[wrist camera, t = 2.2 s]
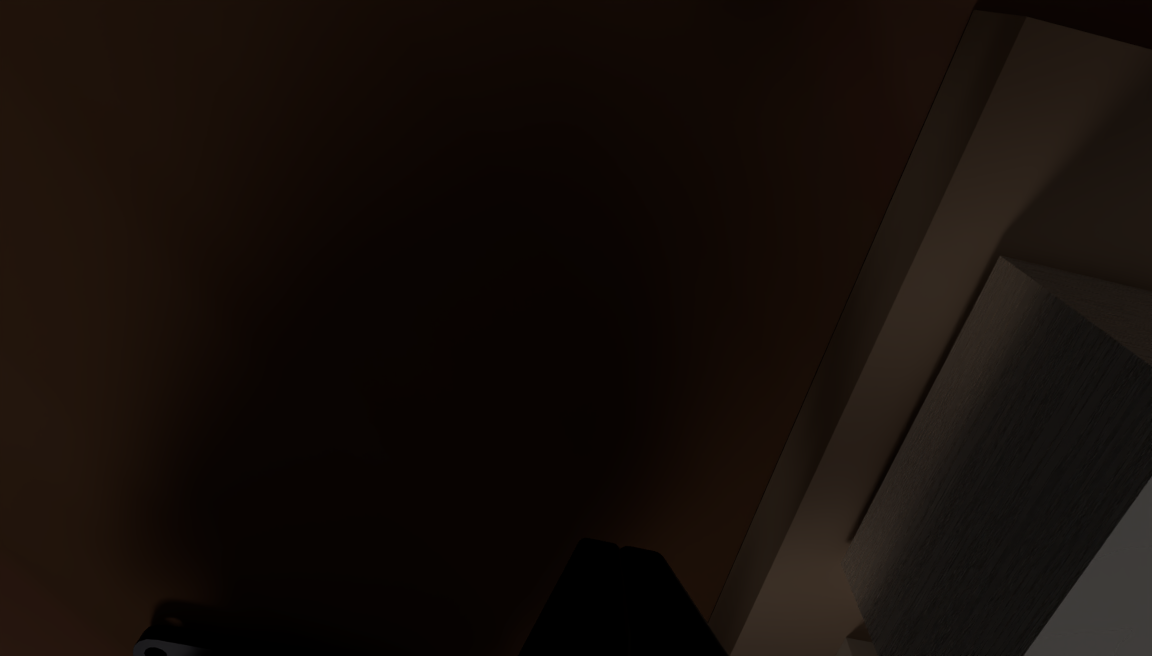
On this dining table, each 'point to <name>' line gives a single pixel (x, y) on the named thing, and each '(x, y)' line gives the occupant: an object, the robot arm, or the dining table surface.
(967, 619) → the push plate
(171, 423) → the dining table surface
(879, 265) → the gauge base
